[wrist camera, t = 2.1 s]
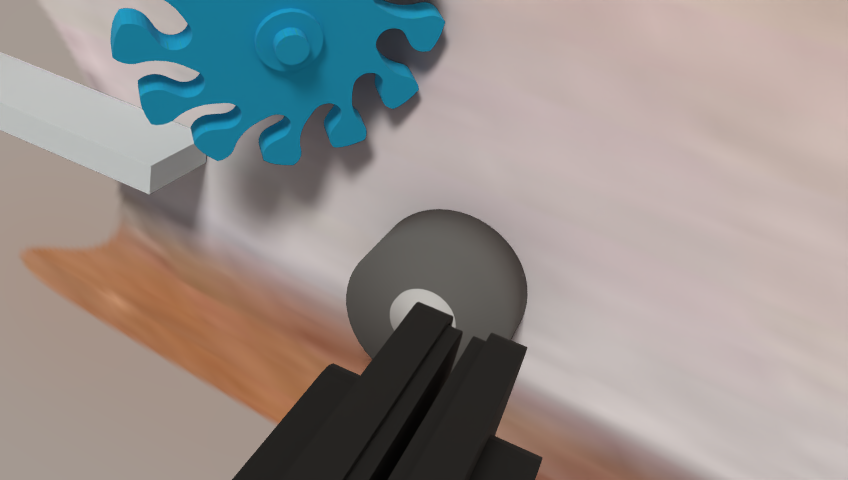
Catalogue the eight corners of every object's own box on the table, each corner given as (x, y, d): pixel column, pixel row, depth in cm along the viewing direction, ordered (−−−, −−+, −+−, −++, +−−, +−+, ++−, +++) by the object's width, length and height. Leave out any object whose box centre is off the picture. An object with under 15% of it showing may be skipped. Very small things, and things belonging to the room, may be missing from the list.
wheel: (548, 246, 29) (525, 285, 26) (502, 373, 32) (478, 419, 29) (395, 185, 30) (360, 217, 27) (365, 313, 33) (331, 353, 30)
